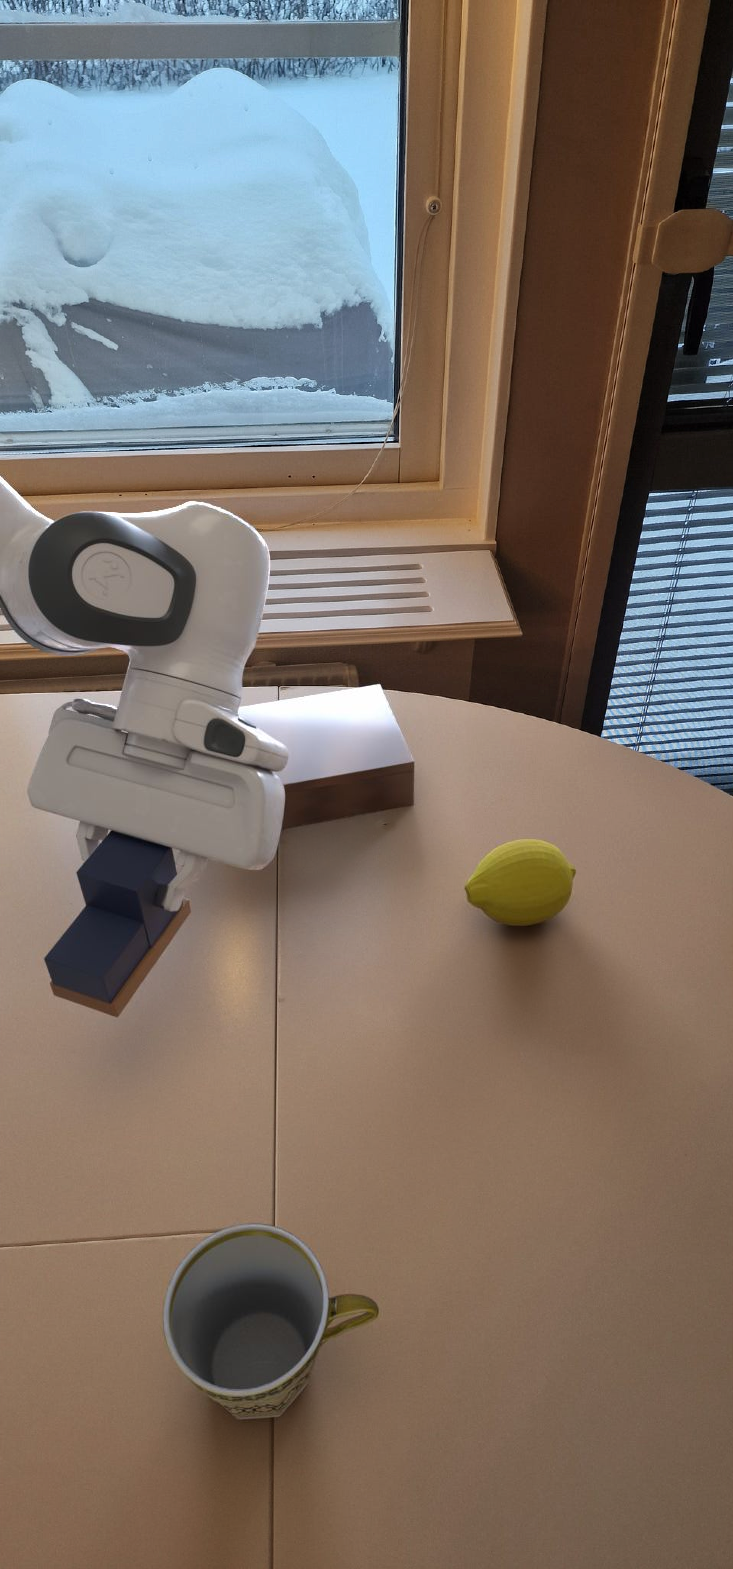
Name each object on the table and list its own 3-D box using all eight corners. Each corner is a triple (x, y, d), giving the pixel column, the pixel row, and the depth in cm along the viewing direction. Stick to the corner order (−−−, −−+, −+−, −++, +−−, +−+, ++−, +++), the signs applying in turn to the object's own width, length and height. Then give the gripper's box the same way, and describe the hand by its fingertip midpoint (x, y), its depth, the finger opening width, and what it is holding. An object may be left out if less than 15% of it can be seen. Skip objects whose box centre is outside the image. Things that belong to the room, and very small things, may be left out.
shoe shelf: (226, 839, 106) (220, 796, 102) (208, 755, 117) (202, 712, 113) (413, 804, 110) (414, 761, 106) (380, 725, 120) (380, 683, 116)
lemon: (560, 874, 102) (569, 815, 96) (584, 935, 96) (596, 875, 91) (452, 888, 101) (455, 829, 95) (470, 950, 95) (475, 891, 90)
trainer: (117, 1018, 76) (96, 947, 70) (53, 995, 77) (28, 925, 72) (191, 912, 83) (177, 841, 78) (131, 893, 85) (114, 823, 80)
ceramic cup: (178, 1456, 65) (154, 1400, 58) (190, 1292, 72) (170, 1226, 66) (384, 1443, 65) (383, 1386, 59) (375, 1282, 73) (373, 1215, 66)
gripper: (37, 685, 79) (-10, 861, 79) (279, 746, 73) (229, 936, 73) (81, 699, 85) (38, 862, 85) (308, 756, 79) (263, 932, 79)
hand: (128, 897), depth 79 cm, fingers closed on trainer, 5 cm apart
